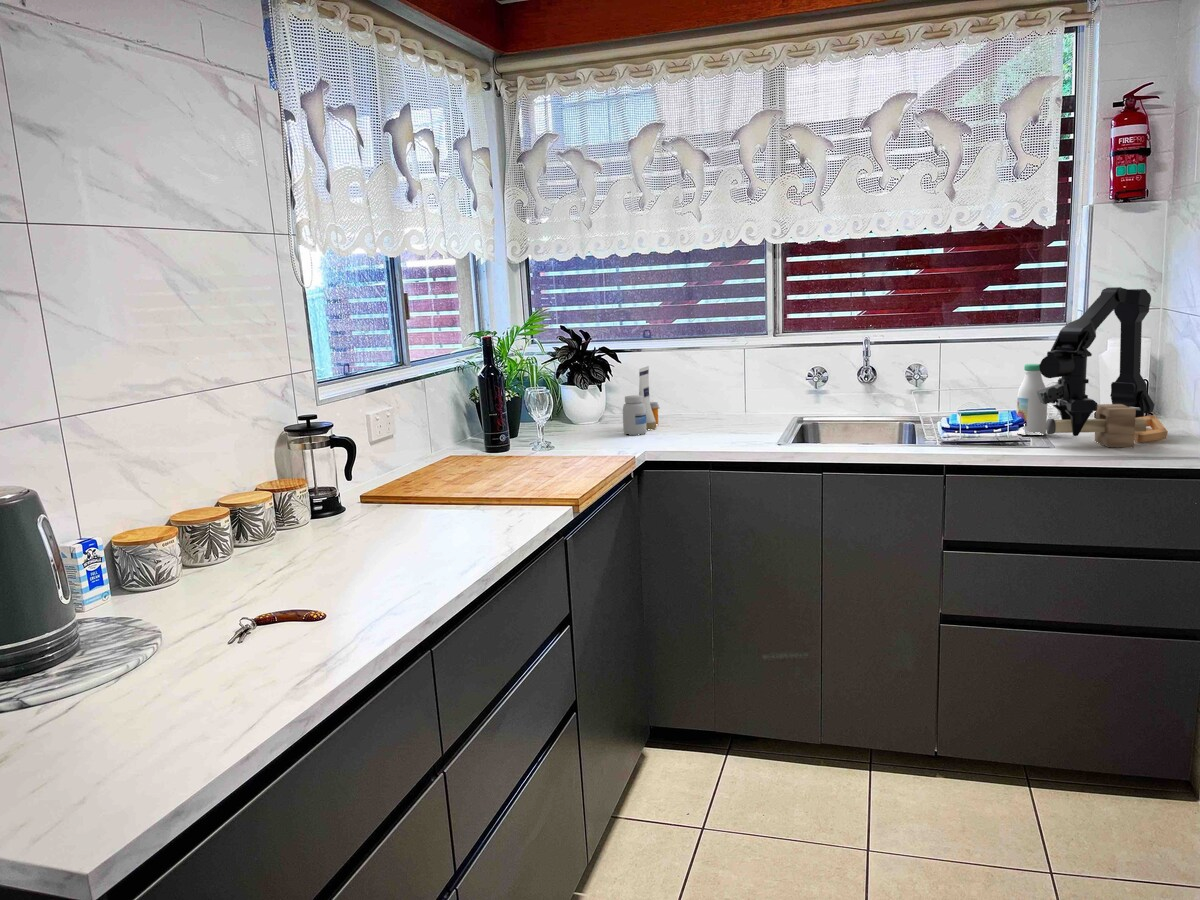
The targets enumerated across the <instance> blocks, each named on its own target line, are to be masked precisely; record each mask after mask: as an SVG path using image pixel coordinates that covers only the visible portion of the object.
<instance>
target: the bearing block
mask: <svg viewBox="0 0 1200 900" xmlns="http://www.w3.org/2000/svg"><path fill="white" fill-rule="evenodd" d="M1134 408H1135V407H1132V408H1131V407H1128V406H1125V405H1122V404H1112V403H1110V404H1109V403H1108V404H1107V403H1106V404H1105V403H1104V404H1098V403H1097V411H1095V419H1106V424H1105V432H1094V442H1095V441H1096V442H1095V443H1097V442H1098V443H1097V444H1099V443H1100V444H1099V445H1101V444H1102V445H1101V446H1103V445H1105V446H1107V447H1132V448H1131V449H1133V448H1134V447H1135V444H1134V443H1135V440H1134V432H1135V415H1136V409H1134ZM1105 446H1104V447H1105ZM1107 447H1106V448H1107Z"/></svg>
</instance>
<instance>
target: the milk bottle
mask: <svg viewBox="0 0 1200 900" xmlns="http://www.w3.org/2000/svg"><path fill="white" fill-rule="evenodd" d="M1039 365H1040V363H1027V364H1025V365H1024V366H1023V367H1024V368H1023V369H1024V378H1023V380H1022V382H1021V384H1020V386H1019V388H1018V390H1017V391H1018V392H1017V397H1016V398H1017V400H1016V416H1017V415H1018V416H1019V417H1021V418H1023V419H1024V420H1025V421H1026V424H1025V429H1026V430H1027V431H1029V432H1033V433H1035V432H1040V433H1043V434H1045V435H1046V434H1047V431H1046V422H1047V420H1048V417H1047V416H1048V404H1043V403H1040V400H1039V397H1038V395H1037V391H1039V390H1042V389H1044V388H1047V387H1046V384H1045V383H1044V381H1043V377H1042V376H1043V375H1042V374H1041V372H1040V369H1039Z"/></svg>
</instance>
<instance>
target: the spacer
mask: <svg viewBox="0 0 1200 900" xmlns="http://www.w3.org/2000/svg"><path fill="white" fill-rule="evenodd" d="M1138 418H1142V419H1145V420H1147V421H1146V428H1148V427H1149V428H1151V429H1153V430H1149V431H1142V432H1134V442H1137V443H1136V444H1138V442H1139V443H1144V442H1151V441H1157V440H1165V439H1167V437H1168V434H1169V433H1168V432H1169V431H1168V429H1167V428H1166V427H1165V426H1164V425H1163V424H1162V422H1161V421H1160V420H1159V419H1158V417H1156V415H1155V414H1153V415H1151V414H1150V415H1145V416H1144V417H1138Z"/></svg>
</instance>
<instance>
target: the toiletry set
mask: <svg viewBox="0 0 1200 900" xmlns="http://www.w3.org/2000/svg"><path fill="white" fill-rule="evenodd" d="M649 369H650V367H649V366H648V365H647V366H645V367H641V368H638V370H639V373H638V374H639V376H638V377H639V384H638V385H639V386H638V387H639V388H638V394H636V395H634V394H633V395H632V394H631V395H625V396H624V403H623V406H622V423H623V434H624V435H625V434H629V435H628V436H638V435H637V434H643V435H645V434H646V433H647V431H649V430H648V429H654V430H656V429H657V426H656V424H658V425H659V409H660V407H659V406H660V405H659V404H658V401H651V399H650V385H649V383H650V382H649V374H650V373H649V371H650V370H649ZM655 428H656V429H655ZM646 430H647V431H646ZM644 433H645V434H644Z"/></svg>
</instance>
